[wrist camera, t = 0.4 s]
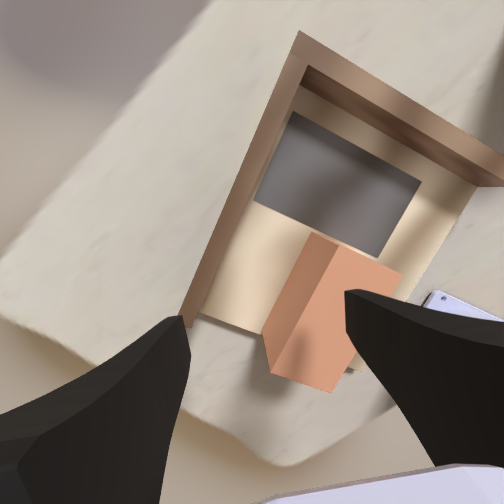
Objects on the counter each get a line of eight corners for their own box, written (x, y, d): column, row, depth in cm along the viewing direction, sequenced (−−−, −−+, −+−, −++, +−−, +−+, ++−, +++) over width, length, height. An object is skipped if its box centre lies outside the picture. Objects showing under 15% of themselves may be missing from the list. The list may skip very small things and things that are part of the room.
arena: (474, 172, 19) (525, 169, 16) (355, 364, 23) (376, 394, 20) (285, 62, 17) (299, 30, 13) (184, 300, 20) (174, 322, 17)
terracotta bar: (311, 231, 19) (339, 245, 14) (360, 254, 19) (403, 275, 15) (261, 329, 20) (270, 372, 15) (308, 346, 21) (331, 393, 16)
